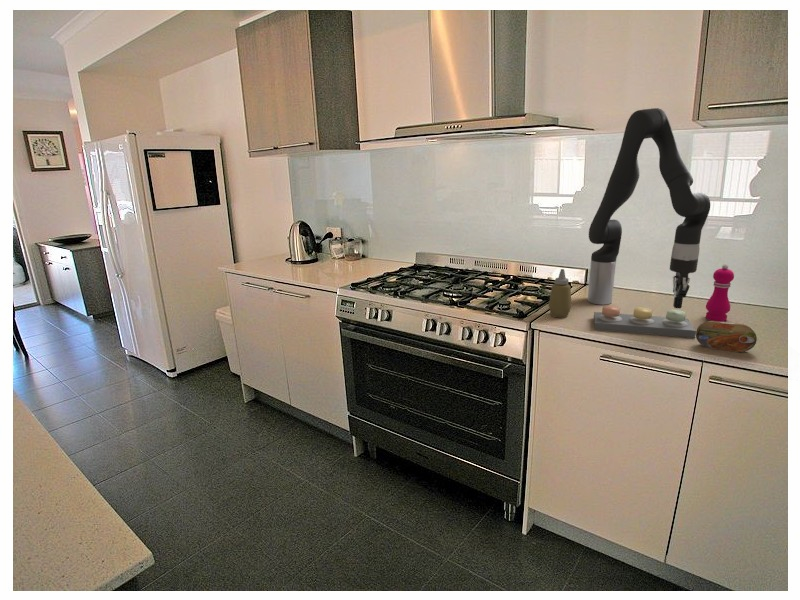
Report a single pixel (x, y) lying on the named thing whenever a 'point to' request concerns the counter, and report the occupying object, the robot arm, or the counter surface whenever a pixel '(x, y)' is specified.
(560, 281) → the squeeze bottle
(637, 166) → the robot arm
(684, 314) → the sage button
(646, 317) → the ochre button
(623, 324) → the button panel
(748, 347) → the tin
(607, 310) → the terracotta button
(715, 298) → the pepper mill
